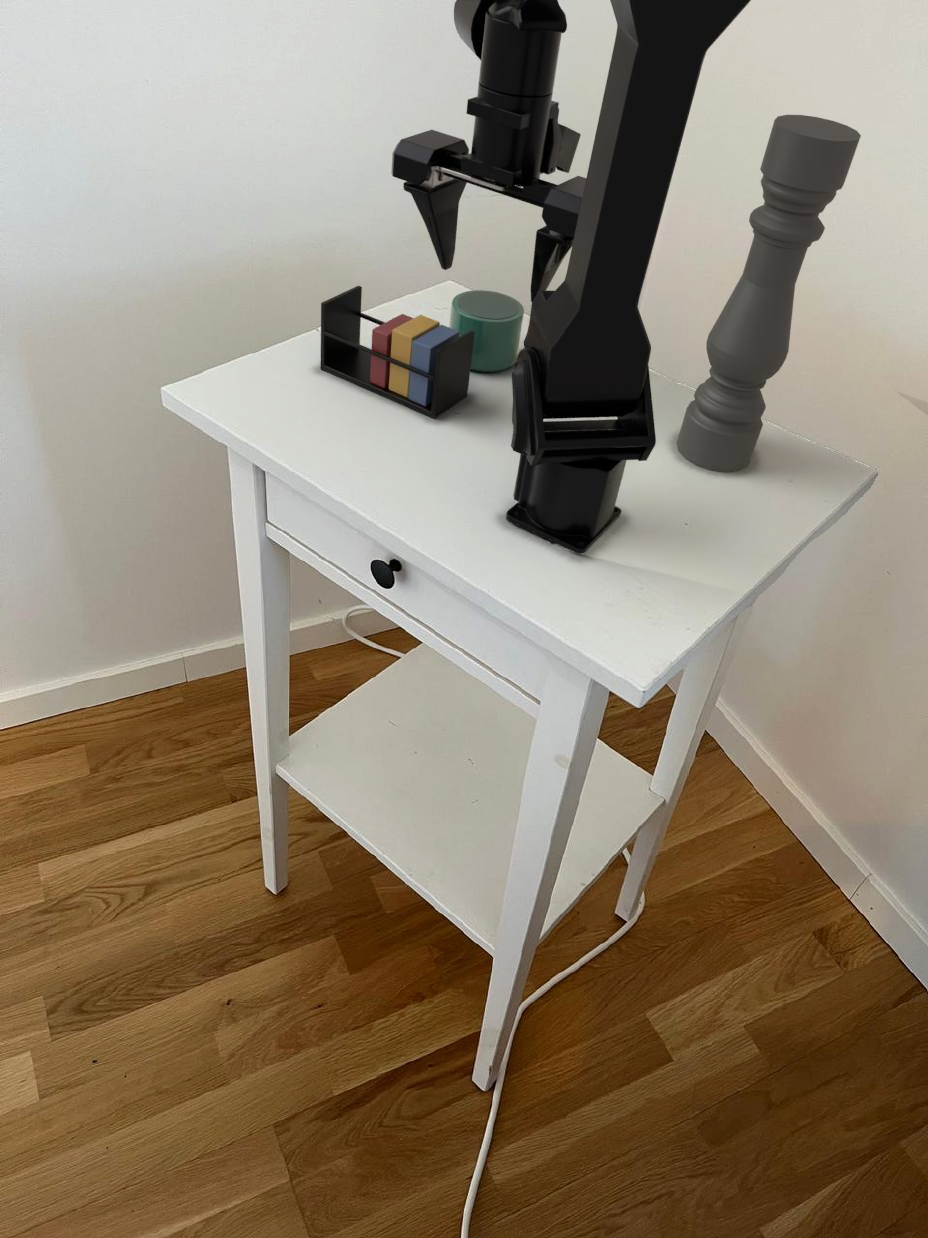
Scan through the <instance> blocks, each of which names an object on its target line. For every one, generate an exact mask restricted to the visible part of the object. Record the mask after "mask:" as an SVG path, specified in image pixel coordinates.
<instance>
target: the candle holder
mask: <svg viewBox="0 0 928 1238" xmlns="http://www.w3.org/2000/svg"><path fill="white" fill-rule="evenodd" d="M861 137H862V135H861V134H860V133H859V131H858V130H856V129H855V128H852V127H850V126H849V125H847V124H844V123H840V122H838V121H834V120H831V119H827V118H823V117H818V116H812V115H805V114H784V115H779V116H777V117H775V119H774V120H773V124H772V127H771V131H770V133H769V137H768V141H767V145H766V147H765V151H764V154H763V158H762V161H761V165H760V167H759V168H760V169H759V170H760V171H761V174H762V178H761V179H760V185H761V188H762V199H763V200H764V201H763V202H764V203H763V204H762V205H759V206H757V207H755V208H754V209H753V210H752V211H751V212H750V213H749V217H748V222H749V225H750V227H751V229H752V234H753V237H752V242H751V244H750V248H749V251H748V255H747V258H746V261H745V265H744V268H743V271H742V274H741V276H740V277H739V280H738V282H737V283H736V285H735V286H734V288H733V290H732V292H731V294H730V295H729V298H728V299H727V301H726V303H725V305H724V307H723V309H722V310H721V312H720V314H718V315H719V316H718V317H717V319H716V321H715V323H714V324H713V326H712V328H711V330H710V332H709V333H708V336H707V338H706V347H705V348H706V354H707V359H708V362H709V365H710V368H709V371H708V373H709V375H710V376H709V377H708V378H707V379H706V380H705V381H704V382H702V383H700V384H699V385H698V386H697V388H696V390H695V391H694V393H693V398H694V399H693V400H691V401H690V402H689V404H688V405H687V407H686V409H685V412H684V417H683V420H682V423H681V427H680V430H679V434H678V437H677V440H676V446H677V450H678V452H679V453H680V454H681V456H682V457H684V459H685V460H687V461H688V462H690V463H693V464H694V465H695V466H698V467H700V468H704V469H706V470H709V471H714V472H724V473H730V472H738V471H741V470H743V469H744V468H747V467H748V466H749V464H750V462H751V460H752V457H753V454H754V452H755V448H756V446H757V443H758V440H759V438H760V434H761V432H762V429H763V427H764V423H763V421H762V417H763V416H764V413H765V411H766V407H767V405H766V402H765V399H764V396H763V393H762V391H761V390H762V389H764V388H765V385H766V384H767V381H768V380H769V379H771V378H772V377H774V375H776V374H777V373H778V372H779V371H780V369H782V367H783V365H784V363H785V361H786V359H787V357H788V354H789V351H790V342H791V341H790V338H791V330H792V320H793V310H794V309H793V308H794V300H795V290H796V284H797V281H798V278H799V276H800V272H801V269H802V266H803V263H804V260H805V257H806V254H807V252H808V248H810V247H811V246H812V244H813V243H815V242H817V241H819V240H821V237H822V236H823V234H824V232H825V229H826V227H825V225H824V224H823V222H822V221H821V219H820V217H819V215H820V214H821V213H823V212H824V210H825V209H826V207H827V206H828V205H829V204H831V202H833V200H834V199H835V198H836V197H837V191H839V190H842V188H843V187H844V185H845V183H846V180H847V177H848V173H849V170H850V168H851V165H852V162H853V159H854V156H855V153H856V150H857V148H858V145H859V143H860V139H861Z"/></svg>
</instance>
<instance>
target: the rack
mask: <svg viewBox="0 0 928 1238" xmlns="http://www.w3.org/2000/svg"><path fill="white" fill-rule="evenodd" d="M362 293H363V287H362V286H361V285H357V286H354V287H352V288H350V289H348V290H346V291H343V292H341V293H339V294H337V295H335V296H333V297H331V298H328V299H326V300H324V301H322V302H321V303H320V370H322V371H325V372H327V373H329V374H331V375H333V376H335V377H338V378H340V379H342V380H345V381H347V382H349V383H352V384H354V385H357V386H358V387H360V388H363V389H366V390H368V391H370V392H372V393H374V394H377V395H379V396H381V397H383V398H386V399H388V400H390V401H393V402H395V403H397V404H400V405H401V406H404V407H406V408H409V409H411V410H413V411H415V412H418V413H419V414H421V415H425V416H427V417H429V418H431V419H433V420H434V419H436V418H438V417H439V416H441V415H442V414H444V413H445V412H447V411H448V410H450V409H452V408H453V407H455V406H456V405H457V404H459V403H460V402H462V401H464V400H465V399H467V398H468V395H469V394H468V393H469V392H468V391H469V384H470V376H471V370H470V369H471V361H472V352H473V344H474V336H475V331H473V330H470V331H469V332H467V333H465V334H463V335H462V336H460V337H458V338H457V339H455V340H453V341H452V342H450V343H448V344H446V345H445V346H443V347H441V348H440V349H438V350H437V353H436V364H435V374H434V375H431V374H429V373H427V372H424V371H422V370H419V369H417V368H415V367H412V366H410V365H408V364H405V363H403V362H400V361H398V360H396V359H393V358H391V357H389V356H386V355H384V354H381V353H379V352H377V351H374V350H372V349H371V348H369V347H367V346H365V345H362V344H361V320H362V319H364V320H366V321H369V322H371V323H373V324H376V325H378V326H380V325H382V324H384V323H386V321H383V320H381V319H379V318H376V317H373V316H372V315H369V314H366V313H363V312H362V297H363V296H362V295H363V294H362ZM371 355H374V356H376V357H379V358H381V359H383V360H386V361H388V362H390V363H393V364H395V365H397V366H400V367H402V368H405V369H407V370H409V371H412V372H414V373H416V374H419V375H421V376H424V377H426V378H428V379H431V380H433V381H434V385H433V396H432V403H430V404H428V405H427V406H423V405H421V404H419V403H417V402H414V401H412V400H410V399H408V397H405V396H403V395H400V394H398V393H396V392H393V391H391V390H389V386H388V387H386V388H382V387H380V386H378V385H376V384H373V383H371V382H370V370H371Z"/></svg>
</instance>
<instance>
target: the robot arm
mask: <svg viewBox="0 0 928 1238" xmlns="http://www.w3.org/2000/svg"><path fill="white" fill-rule="evenodd" d="M609 1H610V4H611V8H612V10H613V14H614V18H615V21H616V25H617V26H616V33H615V38H614V44H613V48H612V53H611V57H610V62H609V68H608V71H607V78H606V82H605V87H604V92H603V95H602V96H603V97H602V101H601V107H600V111H599V116H598V120H597V124H596V125H597V126H596V130H595V134H594V139H593V145H592V150H591V154H590V157H589V158H590V159H589V165H588V168H587V173H586V177H584V176H581V175H576V176H575V177H572V178H570V179H567V180H566V181H564V182H561V183H558V184H556V183H553V182H550V181H546V180H544V179H541V175H542V174H545V175H548V176H549V175H551V174H553V173H556V170H557V171H559V172H563V173H566V174H569V173H570V171H571V167H572V165H573V162H574V158H575V155H576V152H577V149H578V145H579V142H580V138H581V136H582V133H579V132H577V131H575V129H572V128H570V127H568V126H566V125H563V124H561V123H559V115H560V108H559V104H560V102H558V101H554V100H552V99H553V93H554V86H555V80H556V75H557V66H558V61H559V53H560V47H561V40H562V34H564V33H566V32H567V30H568V22H567V21H568V20H567V15H566V13H565V12H564V10H563V9H562V7H561V6H560V3H559V0H456V1H455V2H454V6H453V22H454V26H455V30H456V33H457V34H458V37H459V38H460V39H461V40H462V41H463V43H464V44H465V45H466V46H467V47H468V49H470V51H472V53H473V54H474V55H475V56H476V57H477V58H478V59H479V60H480V66H479V74H478V75H479V76H478V86H477V94H476V96H473V97H472V98H468V99H467V103H466V115H470V116H472V117H474V123H473V131H472V142H471V152H470V148H469V147H468V143H467V142H466V141H465V139H464V138H460V137H457V136H455V135H454V136H453V135H450V134H448V133H444V132H442V131H438V130H435V129H429V130H425V131H423V132H420V133H416V134H413V135H411V136H408V137H404V138H401V139H400V140H399V141H398V143H397V144H396V145H395V147H394V150H393V151H392V155H391V156H392V157H391V172H390V173H391V176H392V177H394V178H396V179H399V180H402V181H404V182H403V185H402V187H403V188H402V189H403V191H405V192H407V193H409V194H410V195H411V197H412V199H413V202H414V203H415V205H416V208H417V210H418V212H419V213H420V216H421V218H422V220H423V223H424V225H425V227H426V231H427V233H428V235H429V238H430V241H431V243H432V246H433V249H434V252H435V254H436V257H437V259H438V262H439V266H440V268H441V269H442V270H444V271H447V270H449V269H451V268H452V266H453V262H454V257H455V253H456V245H457V244H456V243H457V232H458V231H457V229H458V218H459V206H460V200H461V197H462V196H463V193H464V190H465V189H466V186H467V184H470V185H473V186H476V187H480V188H481V189H485V190H488V191H491V192H494V193H497V194H500V195H503V196H506V197H509V198H512V199H515V200H518V201H522V202H524V203H526V204H530V205H533V206H536V207H538V208H542V211H541V218H542V220H543V222H544V224H545V226H543V227H540V228H539V229H537V230H536V231H535V241H534V250H533V251H534V253H533V260H532V269H531V279H530V302H531V306H530V315H529V316H530V317H529V321H528V322H529V323H528V327H527V330H526V334H525V337H524V340H523V347H524V348H522V349H520V350H519V351H518V354H517V360H516V362H515V363H514V364H513V370H512V372H511V386H512V387H511V392H512V408H511V411H512V413H511V422H512V437H511V442H510V446H511V450H512V451H513V452H516V453H518V454H520V455H519V461H518V467H517V472H516V473H517V474H516V479H515V486H514V490H513V500H514V501H516V503H515V504H514V505H513V506H512V507H511V508H509V509H508V510H507V511H506V514H505V519H506V521H508V522H509V523H512V524H514V525H516V526H518V527H520V528H522V529H524V530H526V531H529V532H531V533H533V534H535V535H537V536H539V537H541V538H544V539H545V540H547V541H550V542H552V543H554V544H556V545H558V546H559V547H560V546H561V547H563V548H565V549H567V550H569V551H572V552H573V553H575V554H579V555H580V554H585V553H586V552H587V551H588V550H589V549H590V548H591V547H592V546H593V545H594V544H595V543H596V542H597V541H598V540H599V539H600V538H601V537H602V536H603V535H604V534H605V533H606V532H607V531H608V530H609V529H610V528H611V527H612V526H613V525H614V524H615V523H616V522H617V521H618V520H619V519H620V517H621V516H622V509H621V508H620V507H619V506H616V504H617V499H618V496H619V492H620V488H621V483H622V480H623V476H624V472H625V467H626V463H627V461H638V462H646V461H648V460H649V457H650V456H651V454H652V452H653V450H654V448H655V446H656V443H657V437H656V436H657V435H656V426H655V416H654V407H653V397H652V387H651V377H650V376H651V375H650V368H649V363H650V359H651V358H650V357H651V352H652V344H651V342H650V338H649V336H648V333H647V331H646V326H645V324H644V321H643V318H642V316H641V313H640V309H639V302H640V299H641V298H640V297H641V294H642V289H643V286H644V282H645V279H646V274H647V271H648V268H649V264H650V260H651V256H652V252H653V249H654V245H655V242H656V238H657V234H658V231H659V228H660V227H659V226H660V224H661V220H662V215H663V211H664V208H665V205H666V201H667V197H668V194H669V190H670V186H671V183H672V180H673V179H672V178H673V175H674V171H675V168H676V164H677V160H678V156H679V152H680V149H681V145H682V142H683V137H684V134H685V131H686V127H687V123H688V119H689V116H690V112H691V109H692V105H693V104H692V103H693V100H694V98H695V93H696V90H697V86H698V82H699V78H700V75H701V71H702V67H703V64H704V61H705V58H706V55H707V52H708V50H709V49H710V48H711V47H712V46H713V44H714V43H715V42H716V41H717V40H718V39H719V37H721V36H722V35H723V33H724V32H725V31H726V30H727V29H728V28H729V26H730V25H732V23H733V21H735V20H736V19H737V17H738V16H739V15H740V14H741V13H742V12H743V10H744V9H745V8H746V7H747V6H748V5H749V3H750V2H752V0H609ZM569 251H570V255H569V259H568V265H567V270H566V273H565V277H564V280H563V282H562V283H561V284H559V286H558V287H557V288H555V290H548V288H549V287H550V285H551V283H552V280H553V278H554V277H555V275H556V273H557V272H558V269H559V267H560V266H561V264H562V262H563V260H564V259H565V258H566V255H567V254H568V253H569ZM593 418H609V419H593ZM611 418H612V419H611ZM613 418H614V419H613ZM615 418H616V419H615ZM554 419H556V420H554ZM557 419H578V420H557ZM579 419H580V420H579ZM583 419H584V420H583ZM544 420H545V421H544ZM546 420H547V421H546ZM548 420H549V421H548Z"/></svg>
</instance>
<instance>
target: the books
mask: <svg viewBox="0 0 928 1238" xmlns="http://www.w3.org/2000/svg"><path fill="white" fill-rule="evenodd" d="M440 323H441V322H439V321H438V320H435V319H432V318H430V317H428V316H425V315H423V314H419V315H418V316H415V317H412V316H409V315H407V314H404V313H401V314H399V315H397V316H395V317H392V318H391V319H389V320H388V321H385V323H384V324H382V325H378V326H376V327H374V328H373V329H372V330H371V348H370V349H372V350H374V351H377V352H379V353H381V354H384V355H386V356H389V357H391V358H393V359H396V360H398V361H400V362H403V363H405V364H408V365H410V366H412V367H415V368H417V369H419V370H422V371H424V372H427V373H429V374H431V375H434V374H435V364H436V353H437V350H438V349H440V348H441V347H443V346H445V345H446V344H448V343H450V342H452V341H453V340H455V339H457V338H458V337H459V333H460V332H459V331H457V330H454V329H452V328H449V326H447V325H444V324H440ZM370 382H371V383H373V384H376V385H378V386H380V387H382V388H386V387H388V386H389V390H391V391H393V392H396V393H398V394H400V395H403V396H405V397H408V399H410V400H412V401H414V402H417V403H419V404H421V405H423V406H427V405H428V404H430V403H432V396H433V385H434V381H433V380H431V379H428V378H426V377H424V376H421V375H419V374H416V373H414V372H412V371H409V370H407V369H405V368H402V367H400V366H397V365H395V364H393V363H390V362H388V361H386V360H383V359H381V358H379V357H376V356H374V355H371V370H370Z"/></svg>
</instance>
